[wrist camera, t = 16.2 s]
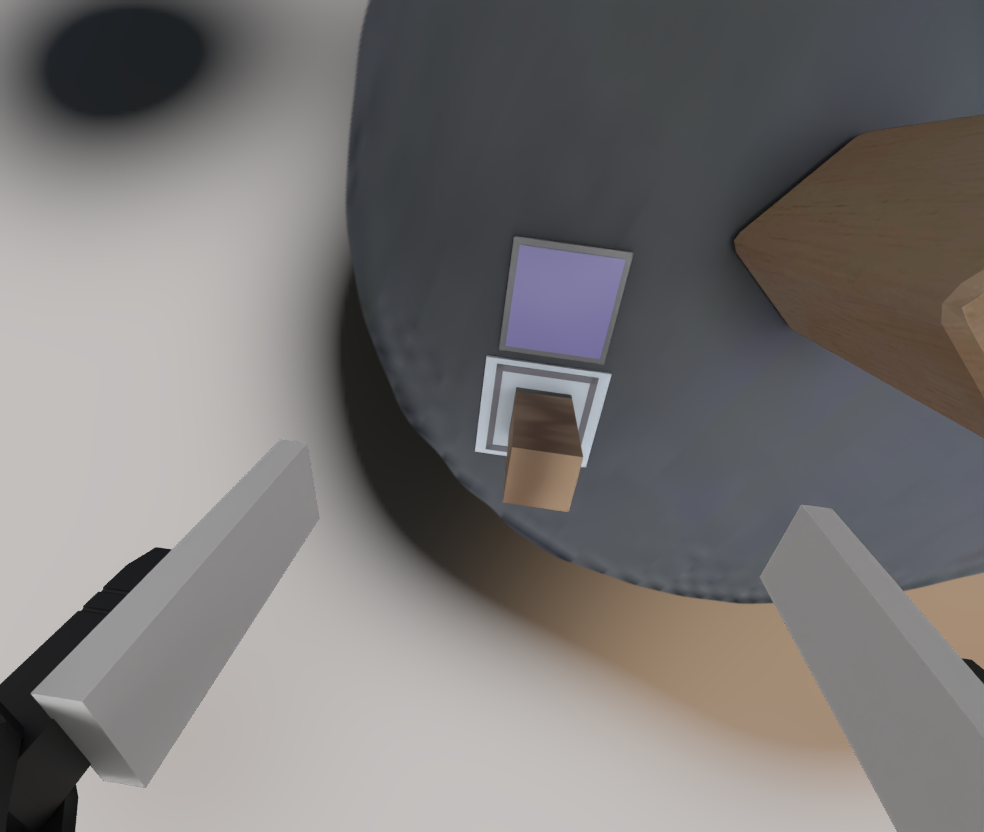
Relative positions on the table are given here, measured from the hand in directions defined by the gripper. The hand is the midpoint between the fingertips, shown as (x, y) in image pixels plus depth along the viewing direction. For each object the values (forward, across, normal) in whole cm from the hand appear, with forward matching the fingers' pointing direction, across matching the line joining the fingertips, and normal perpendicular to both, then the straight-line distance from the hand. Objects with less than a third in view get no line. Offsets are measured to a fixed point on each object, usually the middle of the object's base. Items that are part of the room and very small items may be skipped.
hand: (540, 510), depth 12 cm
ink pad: (+26, +2, -1) cm, 27 cm away
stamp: (+26, +1, -11) cm, 28 cm away
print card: (+26, +1, -11) cm, 29 cm away
